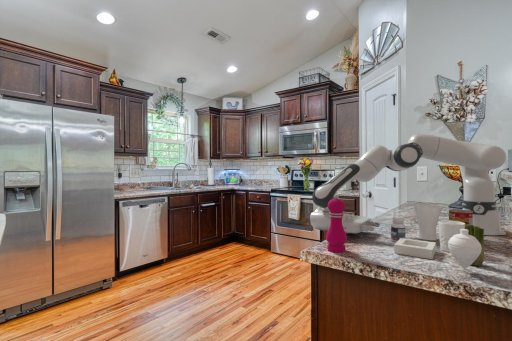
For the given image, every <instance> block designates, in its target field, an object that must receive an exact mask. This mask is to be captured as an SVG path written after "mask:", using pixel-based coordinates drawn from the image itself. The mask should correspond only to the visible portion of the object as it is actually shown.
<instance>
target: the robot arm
mask: <svg viewBox="0 0 512 341" xmlns="http://www.w3.org/2000/svg"><path fill="white" fill-rule="evenodd" d="M421 158H423V159H427V160H431V161H434V162H435V161H436V162H438V163H439V162H440V163H444V164H447V165H452V166H453V165H455V166H458V168H459V171H460V175H461V180H462V184H463V186H462V187H463V199H462V203H461V207H462V209H461V210H470V211H473V225H474V226H478V227H479V228H483V229H484V236H506V235H507V233H506V231H504V230H502V229H501V215H500V214H499V213H497V211H496V210H497V204H496V203H497V202H496V201H495V183H494V181H493V180H492V179H491V176H490V175H489V171H493V170H496V169H499V168H500V167H502V166H504V164H505V163H506V160H507V153H506V152H505V150H504V149H503V148H501V147H500V146H496V145H492V144H484V143H479V142H474V141H473V142H470V141H464V140H457V139H452V138H447V137H443V136H442V137H441V136H437V135H434V134H433V135H432V134H423V133H422V134H421V133H418V134H417V133H416V134H412V135H411V136H410V138H409V139H408V141H407V143H404V144H401V145H399V146H397V147H396V146H395V148H393V149H388V148H387V147H386V146H383V145H381V144H376V145H374V146H373V147H371V148H369V149H368V150H367V151H366V152H365V153H364V154H362V155H361V156H360V157H359V158H358V159H357V160H356V161H355V162H353V163H351V164H348V165H346V166H345V167H344V168H342V169H341V170H340V171H338V173H336V174H335V175H334V176H332V177H331V178H330V179H329V180H327V181H326V182H324V183H323V184H321V185H319V186H317V187H316V188H315V189H314V191H313V192H312V196H311V198H312V202H313V203H314V205H316V206H317V208H316V209H315V210H314V211H312V212H310V215H309V222H310V224H311V226H312V228H314V229H316V230H319V231H323V232H327V231H328V229H329V227H330V223H331V218H330V216H329V212H330V210H329V209H328V202H329V201H330V200H332V199H334V195H336V194H337V193H338V191H340V190H341V189H342V188H343V187H344V186H346V185H347V184H348V183H350V182H351V181H357V182H361V183H366V182H367V183H368V182H370V181H371V180H373V179H375V178H376V176H377V175H379V173H380V172H381V171H382V170H384V168H387V169H388V170H391V171H394V172H402V171H405V170H408V169H410V168H413V167H414V166H415V165H417V164H418V162H419V161H420V160H421ZM338 199H340V198H338ZM343 213H344V212H343ZM342 225H343V228H344V231H345V233H346V235H347V234H349V233H350V234H354V235H355V234H359V233H361V232H373V231H374V230H375V228H379V227H380V226H381V222H379V221H378V222H377V221H374V220H372V218H370V217H368V216H361V215H355V214H354V213H346V212H345V213H344V214H343V217H342Z"/></svg>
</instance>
